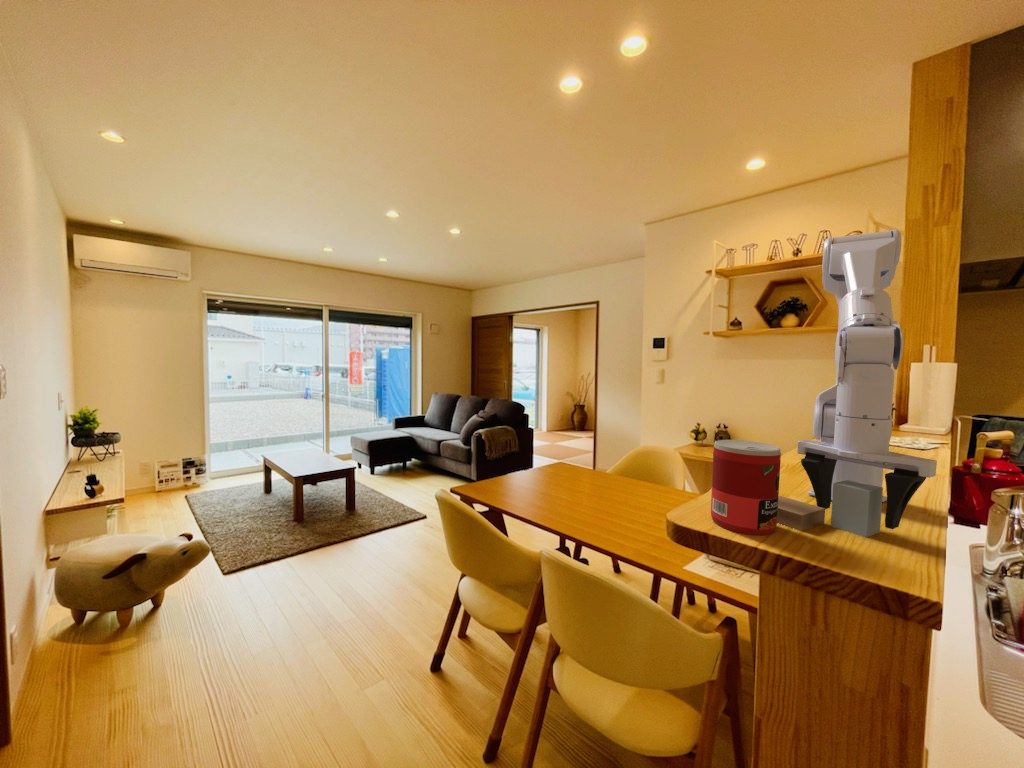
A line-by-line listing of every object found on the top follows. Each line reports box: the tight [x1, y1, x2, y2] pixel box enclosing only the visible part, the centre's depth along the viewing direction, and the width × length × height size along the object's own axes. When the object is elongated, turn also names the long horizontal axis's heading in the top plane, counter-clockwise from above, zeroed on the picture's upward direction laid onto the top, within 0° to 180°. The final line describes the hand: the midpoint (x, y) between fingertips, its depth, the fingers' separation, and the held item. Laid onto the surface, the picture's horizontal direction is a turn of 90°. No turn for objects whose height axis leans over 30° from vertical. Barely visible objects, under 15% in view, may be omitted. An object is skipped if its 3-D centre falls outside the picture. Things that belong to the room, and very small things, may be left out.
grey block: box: [830, 480, 884, 538], centre depth 57 cm, size 4×4×6 cm
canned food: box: [710, 439, 782, 536], centre depth 58 cm, size 8×8×11 cm
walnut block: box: [777, 495, 826, 532], centre depth 60 cm, size 6×6×2 cm
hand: (855, 517), depth 57 cm, fingers open, 7 cm apart
